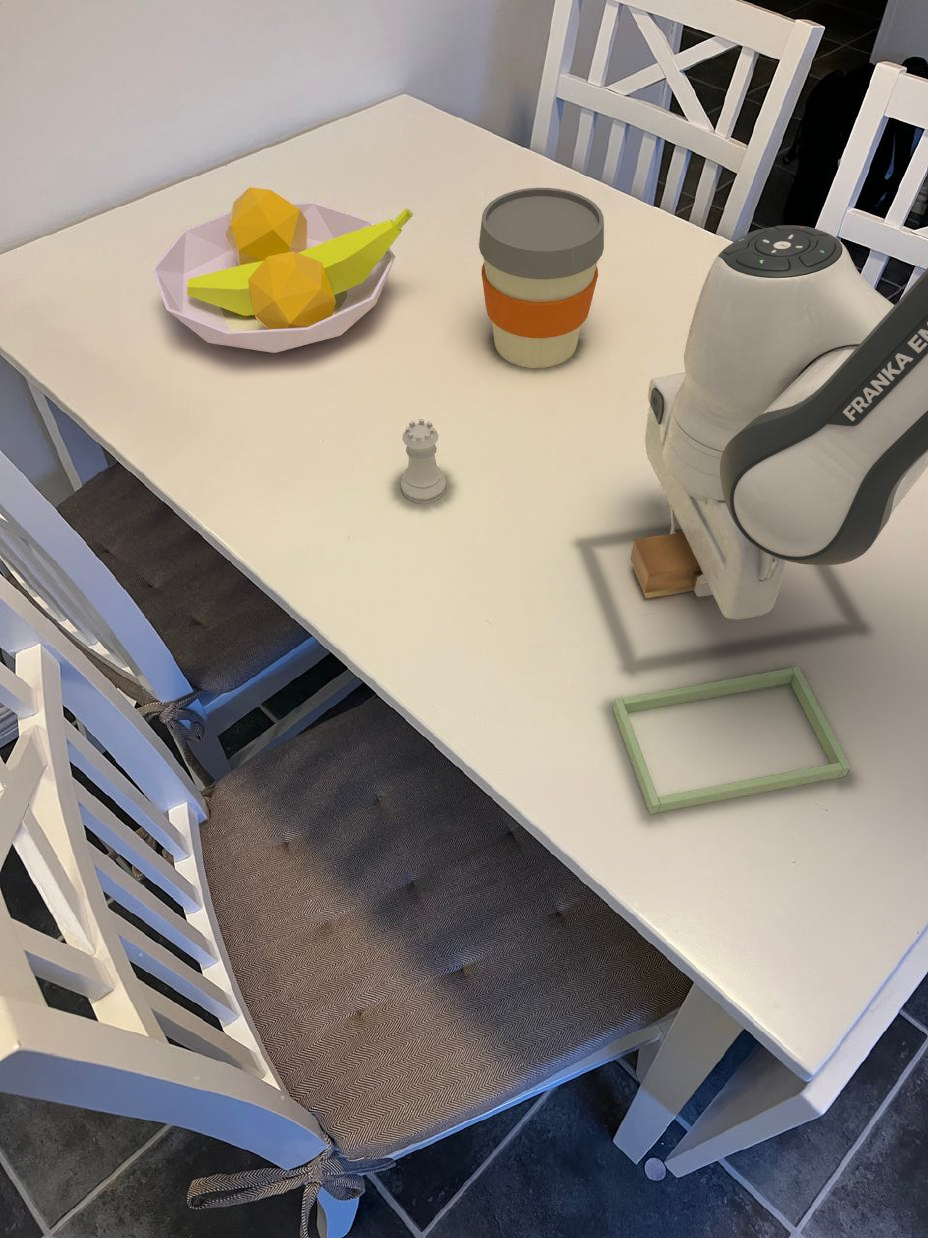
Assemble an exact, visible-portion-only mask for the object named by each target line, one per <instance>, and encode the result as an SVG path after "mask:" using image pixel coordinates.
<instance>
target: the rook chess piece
mask: <svg viewBox="0 0 928 1238" xmlns="http://www.w3.org/2000/svg"><path fill="white" fill-rule="evenodd" d="M439 435H440V434H439V433H438V431H437V430H436V429H435V427H434V426H433V423H432V422H431V421H429V420H428V421H427V422H426V423H425V419H422V418H421V419H420V418H419V419H418V423H416V422H415V421H414V420H411V421H409V422H408V425H406V426H405V431H404V432H403V433H402V441H403V443H404V445H405V446H406V448H405V453H406V455H407V456H408V464H407V468H405V471H404V473H403V475H402V477H401V481H400V487H401V490H402V493H403V496H404V498H406V499H407V500H409V501H411V502H413V503H416V504H424V505H425V504H430V503H435V502H436V501H437V500H439V499H441V498H442V497H443V495H444V494H445V492H446V484H447V479H446V478H445V475H444V473H443V471H442V470H441V469H440V467H439V466H438V464H437V459H436V455H435V454H436V453H437V450H438V449H437V448H438V447H437V446H436V443H437V442H438V441H439Z"/></svg>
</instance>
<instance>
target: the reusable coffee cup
mask: <svg viewBox="0 0 928 1238" xmlns="http://www.w3.org/2000/svg"><path fill="white" fill-rule="evenodd" d="M478 239H479V240H478V241H479V242H478V249H479V252H480V254H481V256H482V258H483V264H482V265H481V280H482V286H483V288H482V289H483V294H484V303H485V310H486V313H487V316H488V318H489V320H490V321H491V326H492V335H493V341H494V346H495V349H496V351H497V353H498V355H500V357H502V359H504V360H505V361H507V362H508V363H511V364H512V365H515V366H519V367H522V368H528V369H546V368H551V367H556V366H558V365H561V364H563V363H564V362H566V361H568V360H570V358H571V357H572V356H573V355H574V354H575V352H576V349H577V345H578V342H579V337H580V334H581V330H582V326H583V324H584V323H585V322H586V320H587V318H588V317H589V313H590V309H591V305H592V302H593V298H594V294H595V289H596V286H597V281H598V278H599V268H598V266H597V265H598V262H599V260H600V259H601V257H602V256H603V252H604V249H605V219H604V214H603V212H602V209H600V208H599V206H598V205H597V204H596V203H595V202H594V201H592V200H591V199H590V198H587V197H586V196H583V195H582V194H579V193H576V192H574V191H570V190H566V189H562V188H553V187H528V188H522V189H517V190H513V191H510V192H506V193H503V194H502V195H499V196H497V197H496V198H495V199H493V200H492V201H490V202H489V203H488V204H487V205H486V206H485V208H484V210H483V212H482V215H481V222H480V232H479V238H478Z"/></svg>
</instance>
